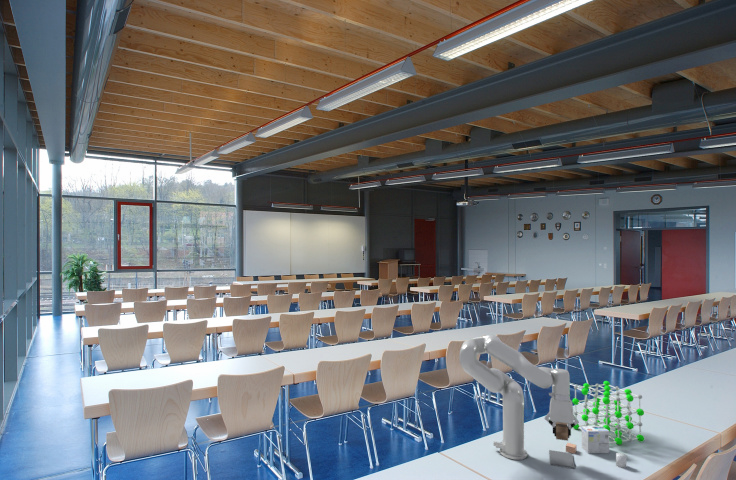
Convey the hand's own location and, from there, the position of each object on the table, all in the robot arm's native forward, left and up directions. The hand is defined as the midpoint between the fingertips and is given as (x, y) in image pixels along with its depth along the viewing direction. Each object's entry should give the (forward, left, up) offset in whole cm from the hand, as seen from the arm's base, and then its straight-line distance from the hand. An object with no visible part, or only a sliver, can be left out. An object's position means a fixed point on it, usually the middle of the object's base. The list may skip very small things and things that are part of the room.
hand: (561, 435), depth 206 cm
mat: (0, 0, -11) cm, 11 cm away
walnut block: (0, 0, -1) cm, 1 cm away
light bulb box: (+16, +16, -12) cm, 26 cm away
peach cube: (+5, +11, -11) cm, 17 cm away
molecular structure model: (+24, +38, -12) cm, 47 cm away
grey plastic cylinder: (+25, +3, -11) cm, 27 cm away
